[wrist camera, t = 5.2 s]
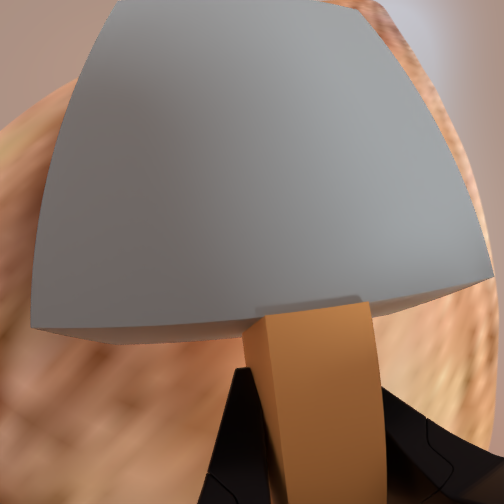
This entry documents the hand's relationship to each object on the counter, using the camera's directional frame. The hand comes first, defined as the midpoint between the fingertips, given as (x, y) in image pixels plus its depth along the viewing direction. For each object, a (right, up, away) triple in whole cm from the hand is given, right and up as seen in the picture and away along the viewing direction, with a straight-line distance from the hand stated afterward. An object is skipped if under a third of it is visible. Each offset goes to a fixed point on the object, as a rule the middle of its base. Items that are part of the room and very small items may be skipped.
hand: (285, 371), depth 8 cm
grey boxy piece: (-1, +4, +4) cm, 6 cm away
